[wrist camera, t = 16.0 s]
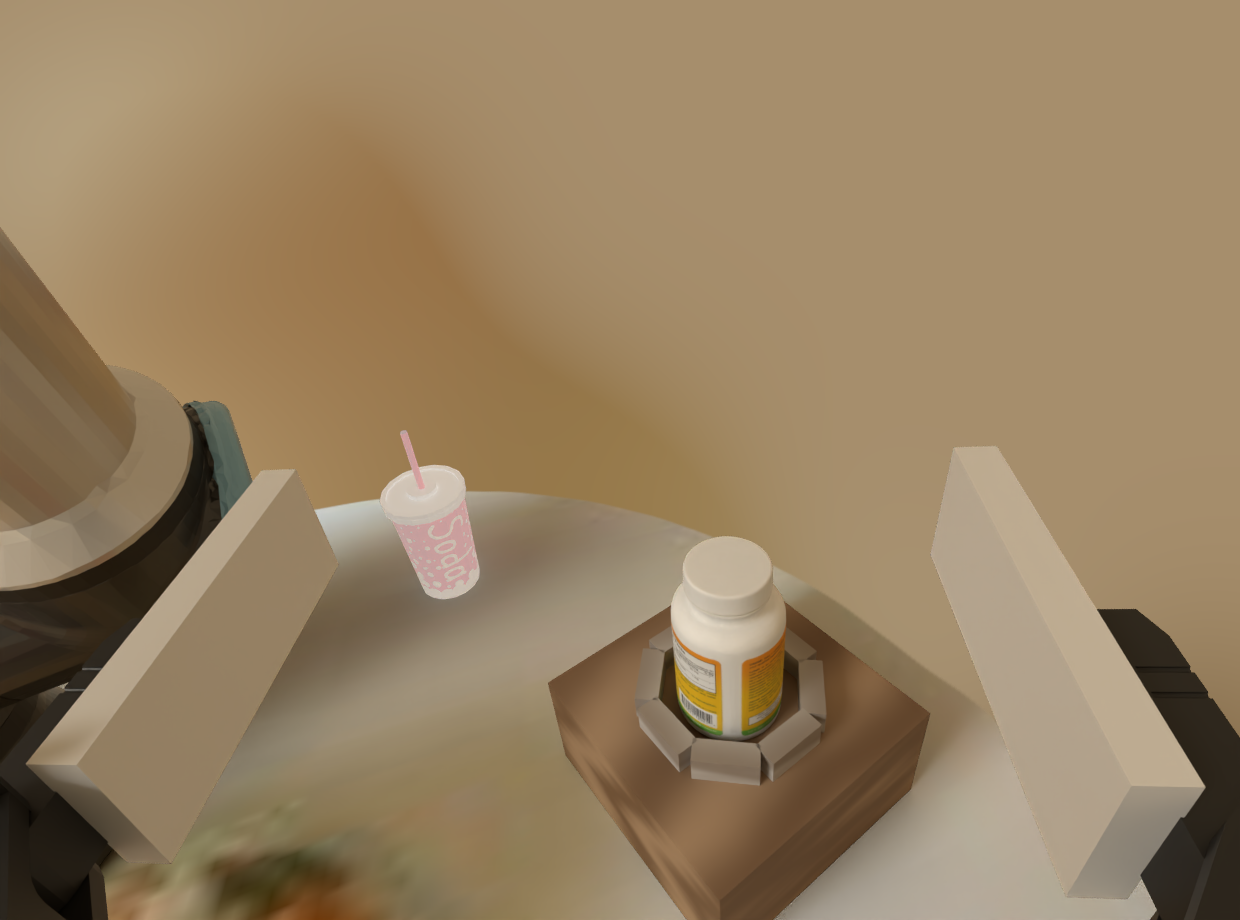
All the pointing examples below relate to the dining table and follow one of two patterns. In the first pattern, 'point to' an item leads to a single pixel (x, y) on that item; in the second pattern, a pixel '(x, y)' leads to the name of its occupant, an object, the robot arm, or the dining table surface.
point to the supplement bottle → (728, 639)
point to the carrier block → (739, 768)
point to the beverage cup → (433, 526)
